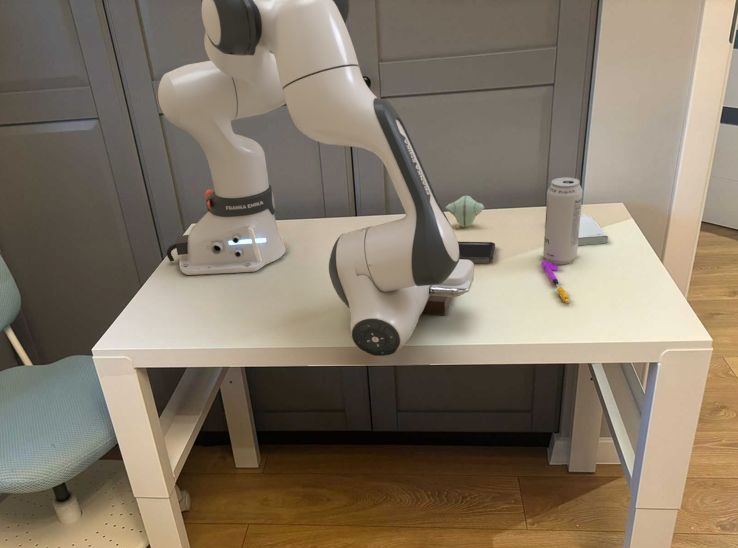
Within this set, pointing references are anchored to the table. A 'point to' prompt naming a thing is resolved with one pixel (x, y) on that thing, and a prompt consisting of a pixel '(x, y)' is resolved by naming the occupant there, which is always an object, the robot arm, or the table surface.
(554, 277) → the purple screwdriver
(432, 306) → the dial panel
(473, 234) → the table surface
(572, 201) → the energy drink can
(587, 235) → the hard drive
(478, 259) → the phone
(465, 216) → the mint green lobed ornament
